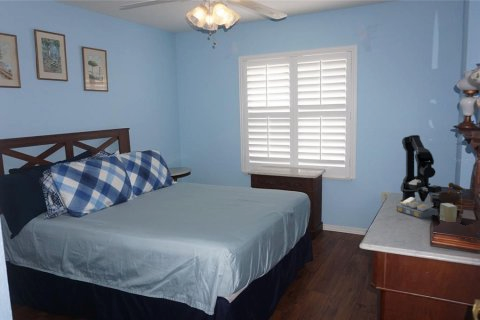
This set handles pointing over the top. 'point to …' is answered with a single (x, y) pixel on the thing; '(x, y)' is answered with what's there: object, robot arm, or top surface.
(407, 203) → the rocker left
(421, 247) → the top surface
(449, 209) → the skincare box
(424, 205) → the rocker right
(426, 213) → the console
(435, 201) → the electrical switch
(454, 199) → the music box
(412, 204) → the rocker middle
